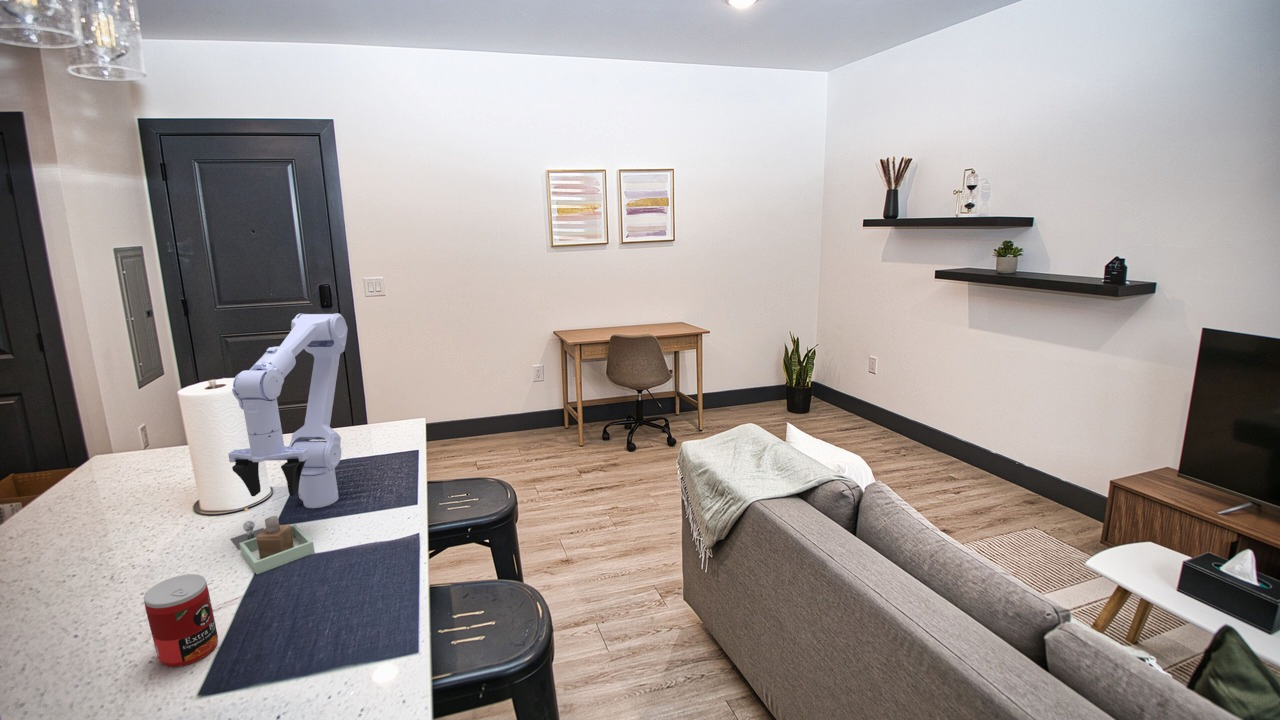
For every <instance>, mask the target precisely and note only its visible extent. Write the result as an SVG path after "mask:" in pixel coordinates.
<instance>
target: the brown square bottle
mask: <svg viewBox="0 0 1280 720" xmlns="http://www.w3.org/2000/svg"><path fill="white" fill-rule="evenodd" d="M264 523H265V528H264V530H263V531H262V532H261V533H260V534H259V535H257V536H256V539H257V544H258V554H259V560H260V559H263V558H266V557H269V556H271V555H274V554H277V553H280V552H282V551H285V550H288V549H291V548H293V547H295V545H294V539H293V538H294V537H292V532H291V524H280V522H279V516H276V515H273V516H269V517H266V518H265V519H264Z"/></svg>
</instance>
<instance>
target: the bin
mask: <svg viewBox="0 0 1280 720" xmlns="http://www.w3.org/2000/svg"><path fill="white" fill-rule="evenodd" d="M290 526H291V532H292V538H296V540H297V541H298V542H299V543H300V544H299V545H296V546H294V547H293V548H291V549H288V550H285V551H282V552H280V553H277V554H274V555H271V556H269V557H266V558H263V559H260V558H259V559H257V558H256V557H255V555H254V554H253V552H255V551H259V549H258V544H257V539H256V538H253V539H250V540H247V541H244V542H241V543H239V544H240V550H239V551H240V553H241V556H242V557H243V558H244V560H245V561H246V562H247V564H248V565H249V566H250V568H251V569H252V570H253V571H254V573H255V574H256V575H260V574H262V573H266V572H267V571H270V570H272V569H276V568H278V567H280V566H283V565H286V564H289V563H291V562H294V561H297V560H299V559H301V558H304V557H307V556H310V555H312V554H315V546H314V542H313V540H312V539H311V538H310V537H309V536H308V535H307V534H306V533H305V532H304V531H303V530H302V529H301V528H300V527H299V526H298V525H297V524H296V523H294V524H290Z"/></svg>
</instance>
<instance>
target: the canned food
mask: <svg viewBox="0 0 1280 720" xmlns="http://www.w3.org/2000/svg"><path fill="white" fill-rule="evenodd" d="M143 603H144V608H145V612H146V617H147V620H148V624H149V628H150V633H151V637H152V640H153V644H154V648H155V653H156V656H157V659H158V660H159V662H160V663H161V664H162V665H163V666H165V667H172V668H175V667H176V668H177V667H182V666H187V665H190V664H193V663H195V662H197V661H200V660H202V659H203V658H205V657H206V656H208V655H209V654H210V653H211V652H212V651H214V649H215V648H216V647H217V644H218V638H219V636H218V631H217V627H216V621H215V616H214V611H213V606H212V600H211V596H210V591H209V587H208V582H207V580H206V578H205V576H203V575H200V574H196V573H194V574H193V573H192V574H181V575H177V576H173V577H170V578H168V579H165V580H162V581H160V582H157V583H155V585H153V586H152V587H150V588H149V589H148V590H147V591H146V592H145V593H144V595H143Z"/></svg>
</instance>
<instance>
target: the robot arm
mask: <svg viewBox="0 0 1280 720" xmlns="http://www.w3.org/2000/svg"><path fill="white" fill-rule="evenodd" d="M290 329H291V330H290V332H289V333H288V334H287V336H286V337H285V338H284V340H283V341H282V343H281V344H280V345H279V346H272V347H271V346H270V347H268V348H267V349H266V352H264V353H263V355H262V356H261V357H260V358H259V359H258V360H257V361H256V362H255V363H254V364H252V365H253V366H252V367H250V368H249V370H248V369H247V370H242V371H241V372H239V373H238V374H236V376H235V377H234V378H233V383H232V388H231V392H232V395H233V396H234V398H235V399H236V400H237V402H238V405H239V408H240V409H241V410H243V414H244V415H243V416H244V420H245V426H246V431H247V437H248V442H249V447H248V448H241V449H233V450H231V451H230V452H228V454H227V455H228V459H229V460H228V461H229V463H234V465H233V466H232V468H231V469H232V471H233V472H234V473H235V474H236V475H237V476H238V477H239V479H241V481H242V482H243V483H244V485H245V486H246V488H247V490H248V492H249V494H250V497H256V496H257V495H258V494H260V493H261V480H260V475H259V472H260V471H259V468H260V467H259V465H260V463H261V462H265V461H266V462H267V461H270V462H271V461H286V462H285V463H283V464H282V465H280V469H281V470H282V473H283V474H284V477H285V480H286V485H287V490H288V493H289V496H290V497H292V496H295V495H296V494H297V493H298V497H299V499H300V500H301V501H302V503H303V506H304V507H305V508H308V509H317V508H319V509H320V508H324V507H327V506H330V505H332V504H334V503H336V502H337V501H338V500H339V489H338V483H337V476H336V470H335V468H336V467H337V466H338V465H339V463H340V461H341V459H342V447H341V446H342V445H341V439H342V437H341V436H340V434H339V433H338V432H337V431H335V430H334V429H333V428H332V427H331V426H330V425H331V419H332V412H333V406H334V399H335V393H336V386H337V385H336V383H337V378H338V371H339V365H340V364H339V362H340V356H341V354H342V353H343V352H345V349H346V344H347V338H348V337H347V336H348V325H347V323H346V319H345V318H344V316H343V315H342V314H341V313H337V312H336V313H312V314H311V313H298V314H296V316H295V317H294V318H293V319H292V320H291V323H290ZM303 350H305V352H307V353H309V354H311V355H312V356H313V358H314V359H313V366H312V373H311V380H310V386H309V392H308V400H307V404H306V405H307V407H306V413H305V418H304V425H302V426H301V427H299V429H297V430H296V431H294V432H293V433H292V434H291V435H292V436H291V439H290V442H289V445H288V446H287V445H285V443H284V436H283V430H282V424H281V417H280V410H279V403H278V397H279V396H280V395H281V392H282V388H283V384H285V378H286V376H288V375H289V373H290V372H291V371H292V370H293V369H294V367H295V366H296V363H297V361H296V357H297V355H299V354H300V353H301V352H302V351H303Z"/></svg>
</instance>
